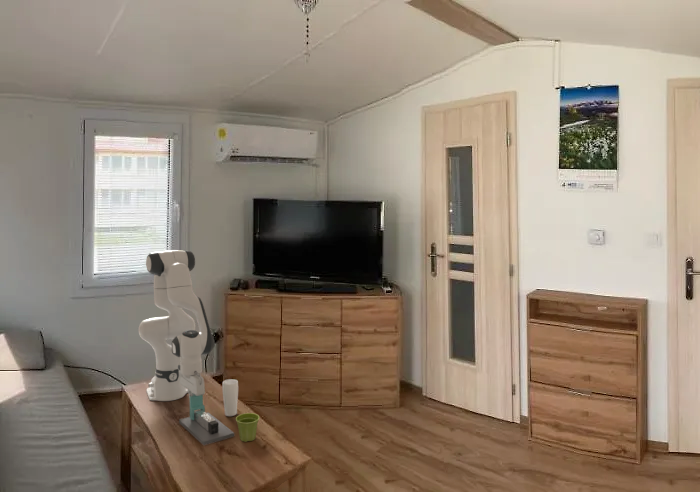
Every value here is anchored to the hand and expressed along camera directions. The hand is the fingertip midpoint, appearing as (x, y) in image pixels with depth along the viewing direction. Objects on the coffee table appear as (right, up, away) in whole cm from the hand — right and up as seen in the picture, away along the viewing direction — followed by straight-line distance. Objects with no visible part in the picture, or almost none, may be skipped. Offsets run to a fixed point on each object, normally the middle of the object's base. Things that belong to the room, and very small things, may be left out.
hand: (192, 399), depth 236 cm
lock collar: (+3, -7, -4) cm, 8 cm away
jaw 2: (+10, -8, -11) cm, 17 cm away
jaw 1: (+9, -8, -12) cm, 17 cm away
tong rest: (+9, -10, -11) cm, 18 cm away
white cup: (+16, -8, +5) cm, 18 cm away
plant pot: (+28, -11, -18) cm, 35 cm away
